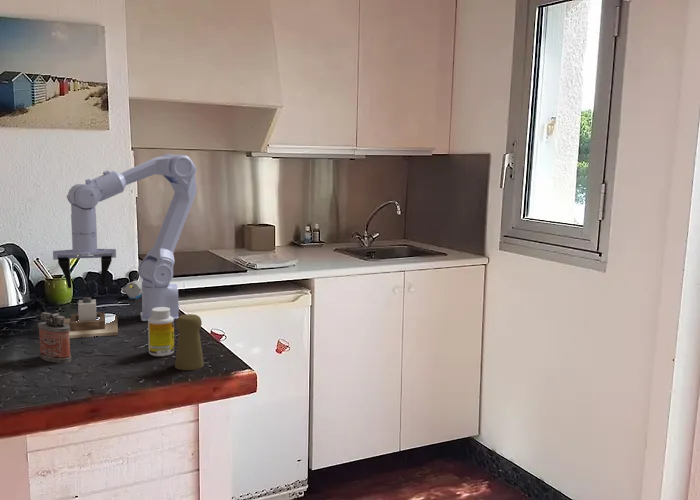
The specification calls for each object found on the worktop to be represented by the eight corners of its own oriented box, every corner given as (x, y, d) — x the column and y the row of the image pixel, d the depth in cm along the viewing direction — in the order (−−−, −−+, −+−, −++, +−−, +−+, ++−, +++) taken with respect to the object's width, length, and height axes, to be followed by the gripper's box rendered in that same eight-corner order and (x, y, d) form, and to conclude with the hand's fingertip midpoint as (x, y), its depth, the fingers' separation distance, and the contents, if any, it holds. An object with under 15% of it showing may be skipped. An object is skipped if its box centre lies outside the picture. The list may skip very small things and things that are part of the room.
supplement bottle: (176, 355, 149) (176, 310, 147) (151, 358, 146) (150, 313, 144) (171, 348, 153) (171, 305, 152) (146, 351, 151) (145, 307, 149)
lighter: (75, 359, 144) (73, 314, 142) (62, 363, 141) (60, 317, 139) (48, 353, 147) (46, 309, 146) (35, 357, 144) (33, 313, 143)
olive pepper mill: (200, 370, 139) (199, 319, 137) (171, 369, 139) (170, 318, 138) (206, 361, 145) (206, 312, 143) (179, 360, 145) (178, 311, 143)
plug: (96, 322, 170) (95, 295, 169) (96, 327, 166) (95, 299, 165) (79, 323, 169) (78, 296, 168) (79, 328, 164) (78, 300, 163)
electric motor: (119, 299, 199) (118, 282, 198) (126, 295, 203) (126, 279, 202) (140, 300, 198) (140, 284, 197) (148, 297, 202) (147, 281, 201)
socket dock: (117, 318, 177) (116, 308, 177) (118, 335, 163) (117, 324, 162) (59, 321, 173) (59, 311, 172) (55, 339, 158) (54, 327, 157)
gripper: (51, 235, 159) (53, 291, 161) (115, 234, 164) (117, 288, 166) (53, 231, 165) (55, 285, 168) (115, 230, 170) (116, 282, 173)
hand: (86, 286), depth 167 cm, fingers open, 7 cm apart
